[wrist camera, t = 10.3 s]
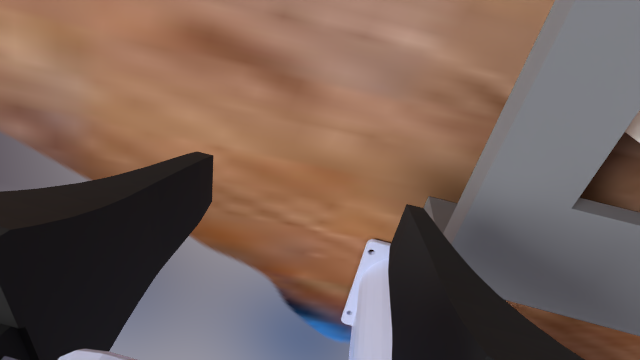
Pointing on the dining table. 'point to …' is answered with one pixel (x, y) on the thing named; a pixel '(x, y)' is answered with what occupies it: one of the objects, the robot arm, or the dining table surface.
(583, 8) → the shelf
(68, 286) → the robot arm
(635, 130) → the white rectangular prism
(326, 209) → the dining table surface
